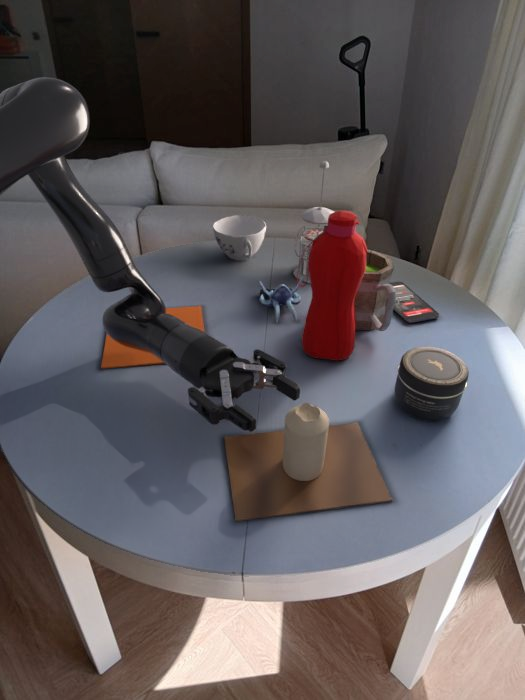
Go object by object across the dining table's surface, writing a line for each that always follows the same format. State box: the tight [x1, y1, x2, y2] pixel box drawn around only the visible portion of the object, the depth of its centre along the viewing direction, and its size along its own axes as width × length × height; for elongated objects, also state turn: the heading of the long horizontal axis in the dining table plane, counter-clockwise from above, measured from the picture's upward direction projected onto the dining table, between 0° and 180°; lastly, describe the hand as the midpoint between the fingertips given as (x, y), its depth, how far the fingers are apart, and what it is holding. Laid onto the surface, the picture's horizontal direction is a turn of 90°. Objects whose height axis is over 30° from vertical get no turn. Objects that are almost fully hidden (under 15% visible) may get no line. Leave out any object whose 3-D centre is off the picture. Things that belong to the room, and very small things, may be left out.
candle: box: [283, 402, 330, 481], centre depth 63 cm, size 6×6×10 cm
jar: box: [394, 346, 470, 423], centre depth 75 cm, size 10×10×8 cm
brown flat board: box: [223, 422, 393, 522], centre depth 66 cm, size 20×14×1 cm
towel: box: [100, 305, 205, 370], centre depth 92 cm, size 18×18×1 cm
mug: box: [354, 249, 396, 332], centre depth 93 cm, size 16×11×12 cm
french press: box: [293, 160, 335, 284], centre depth 105 cm, size 10×12×25 cm
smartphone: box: [386, 281, 440, 324], centre depth 102 cm, size 7×1×15 cm
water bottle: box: [296, 210, 368, 361], centre depth 82 cm, size 9×11×25 cm
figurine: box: [258, 277, 303, 324], centre depth 99 cm, size 10×12×8 cm
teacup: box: [212, 214, 267, 261], centre depth 117 cm, size 15×12×8 cm
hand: (277, 409), depth 65 cm, fingers open, 8 cm apart
